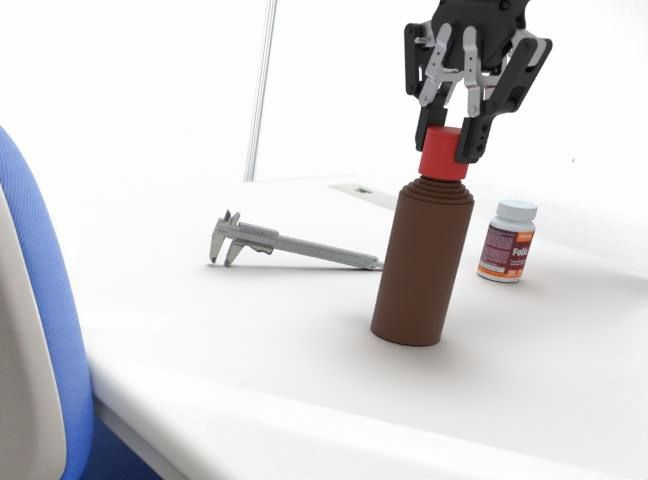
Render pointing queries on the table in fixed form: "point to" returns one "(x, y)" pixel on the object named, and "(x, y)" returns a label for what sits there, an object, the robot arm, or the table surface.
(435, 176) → the cap
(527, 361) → the table surface
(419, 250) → the sauce bottle
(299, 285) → the table surface
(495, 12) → the robot arm
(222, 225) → the caliper
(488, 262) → the pill bottle
